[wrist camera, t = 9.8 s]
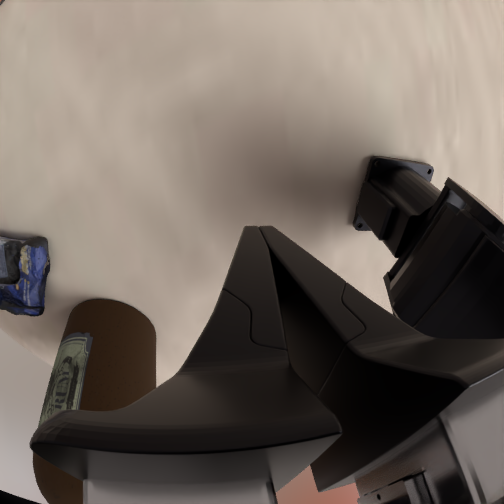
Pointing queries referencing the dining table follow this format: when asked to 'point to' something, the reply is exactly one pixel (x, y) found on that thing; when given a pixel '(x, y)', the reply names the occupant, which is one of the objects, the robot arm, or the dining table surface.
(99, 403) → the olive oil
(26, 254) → the snack package
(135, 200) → the dining table surface
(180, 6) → the dining table surface
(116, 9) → the dining table surface
